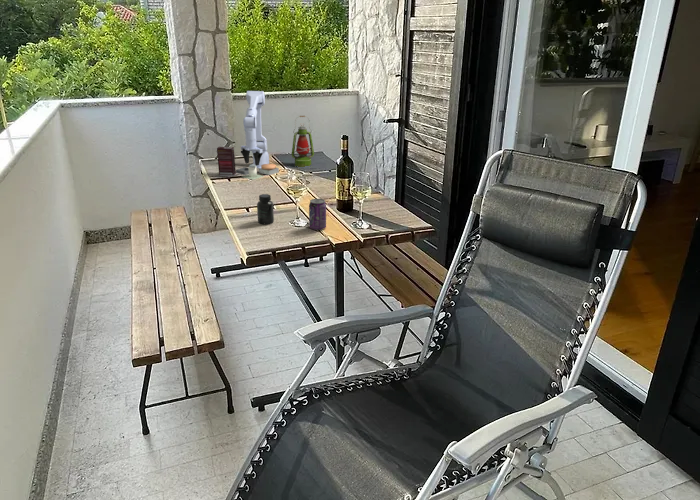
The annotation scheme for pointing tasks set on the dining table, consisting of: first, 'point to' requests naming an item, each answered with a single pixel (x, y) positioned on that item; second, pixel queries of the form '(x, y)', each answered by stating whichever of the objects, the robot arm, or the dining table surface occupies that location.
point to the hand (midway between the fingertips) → (252, 164)
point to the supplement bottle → (265, 210)
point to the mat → (252, 177)
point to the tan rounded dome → (268, 166)
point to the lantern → (302, 146)
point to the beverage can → (317, 214)
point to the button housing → (268, 171)
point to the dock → (243, 171)
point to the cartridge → (252, 170)
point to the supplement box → (226, 161)
